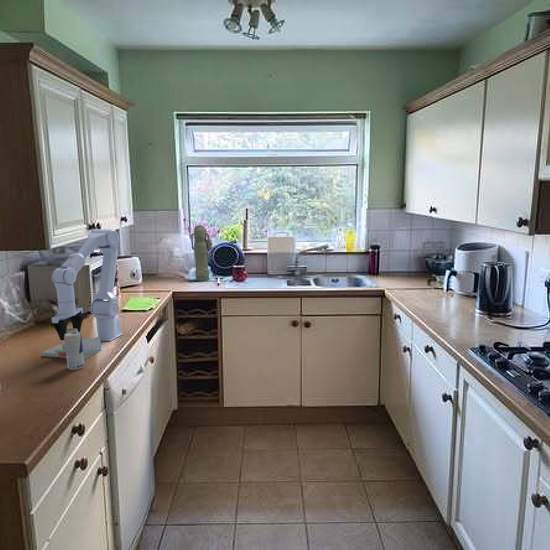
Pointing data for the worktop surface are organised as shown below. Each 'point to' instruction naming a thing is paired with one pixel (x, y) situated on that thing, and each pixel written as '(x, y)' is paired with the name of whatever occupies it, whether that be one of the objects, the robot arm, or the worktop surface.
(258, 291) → the worktop surface
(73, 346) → the energy drink
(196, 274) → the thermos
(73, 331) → the column block
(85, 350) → the stepped stand
